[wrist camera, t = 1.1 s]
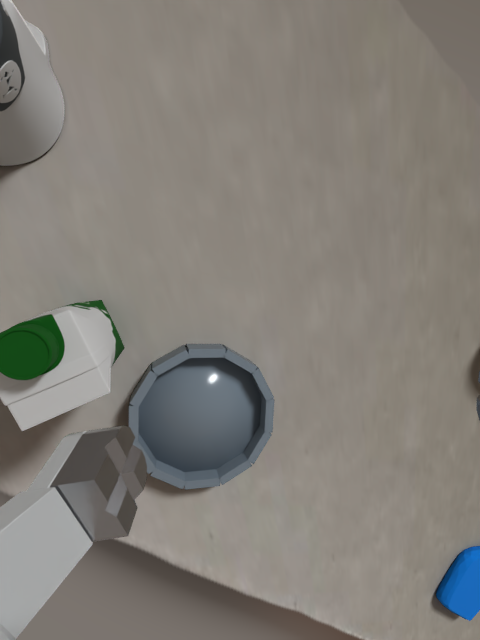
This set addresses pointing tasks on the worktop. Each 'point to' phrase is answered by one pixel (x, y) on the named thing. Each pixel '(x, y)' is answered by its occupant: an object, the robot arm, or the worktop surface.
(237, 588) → the worktop surface
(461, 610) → the spray bottle
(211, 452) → the slate bowl
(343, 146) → the worktop surface
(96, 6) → the worktop surface
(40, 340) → the milk carton
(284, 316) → the worktop surface
